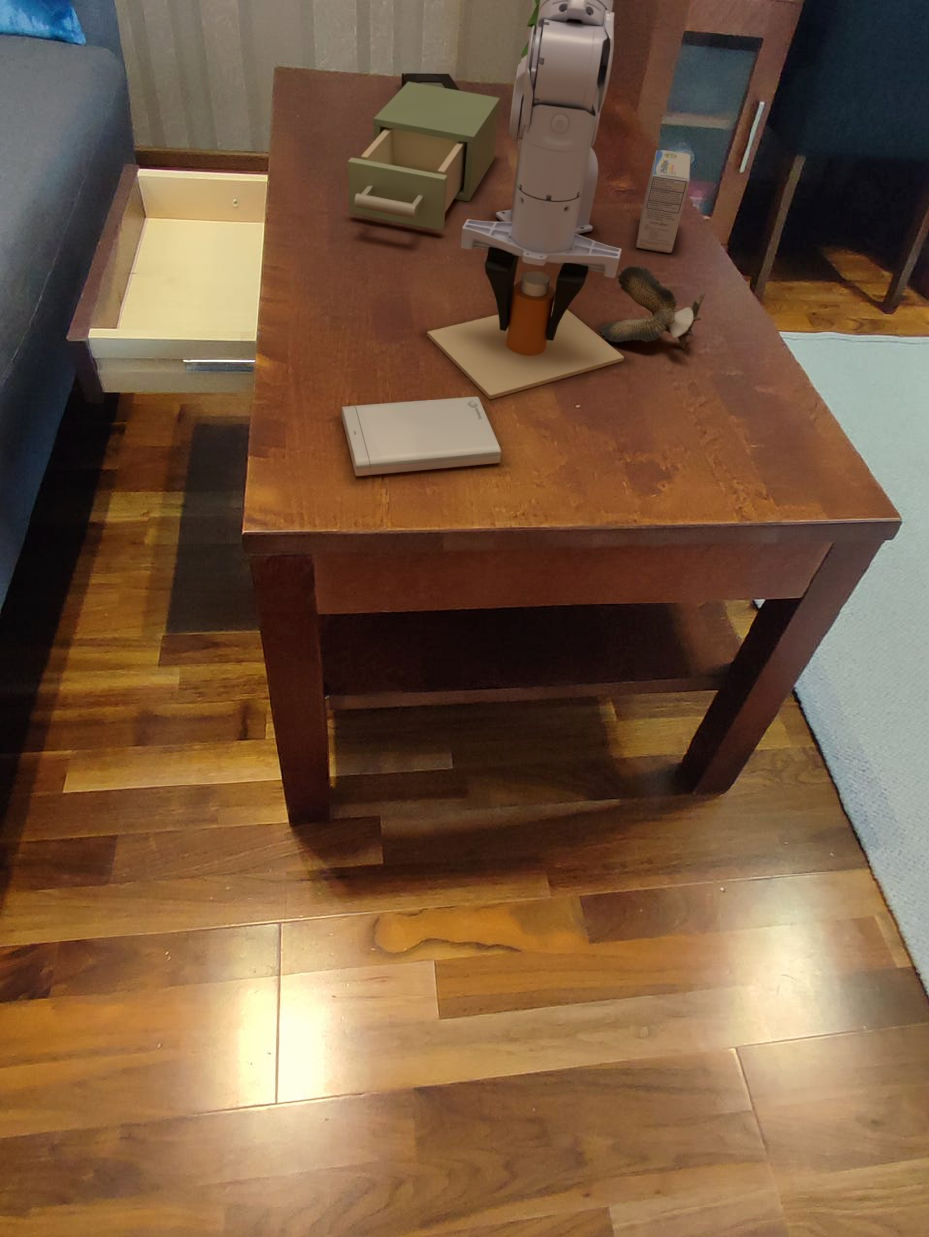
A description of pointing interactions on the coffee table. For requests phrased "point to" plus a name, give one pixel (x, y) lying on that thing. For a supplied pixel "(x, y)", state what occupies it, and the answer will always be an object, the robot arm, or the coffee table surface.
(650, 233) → the medicine box
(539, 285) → the bottle
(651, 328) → the eagle figurine
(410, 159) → the drawer
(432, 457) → the hard drive
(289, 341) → the coffee table surface
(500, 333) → the mat
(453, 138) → the cabinet
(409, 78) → the vhs tape
